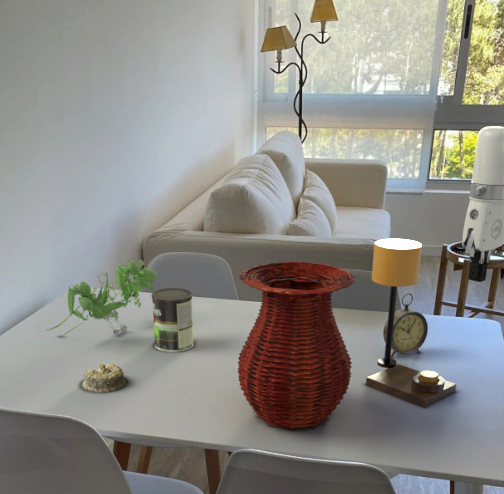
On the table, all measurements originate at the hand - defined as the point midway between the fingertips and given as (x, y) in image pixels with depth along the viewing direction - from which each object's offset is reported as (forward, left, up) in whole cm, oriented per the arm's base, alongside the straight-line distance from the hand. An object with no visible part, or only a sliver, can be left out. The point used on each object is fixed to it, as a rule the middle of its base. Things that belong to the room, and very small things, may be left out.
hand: (476, 280), depth 151 cm
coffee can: (+65, +33, -25) cm, 77 cm away
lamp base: (+7, +10, -25) cm, 28 cm away
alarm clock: (+21, -6, -25) cm, 33 cm away
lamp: (+14, +10, -21) cm, 27 cm away
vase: (+16, +39, -25) cm, 49 cm away
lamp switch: (+3, +10, -22) cm, 24 cm away
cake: (+56, +60, -25) cm, 86 cm away
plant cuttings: (+86, +41, -25) cm, 99 cm away
